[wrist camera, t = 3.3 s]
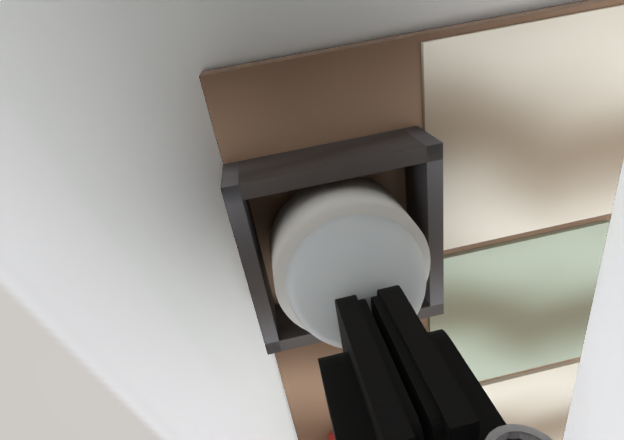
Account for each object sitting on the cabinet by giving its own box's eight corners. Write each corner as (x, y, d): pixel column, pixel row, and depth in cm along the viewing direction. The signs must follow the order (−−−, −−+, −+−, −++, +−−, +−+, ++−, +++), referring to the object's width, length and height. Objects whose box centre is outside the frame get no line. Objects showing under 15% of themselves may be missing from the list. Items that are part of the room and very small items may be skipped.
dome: (255, 192, 13) (262, 267, 9) (401, 162, 13) (465, 223, 10) (283, 308, 15) (298, 407, 12) (408, 280, 16) (461, 367, 12)
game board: (201, 71, 13) (191, 88, 10) (633, -9, 14) (726, -13, 11) (316, 496, 24) (325, 556, 22) (548, 437, 25) (584, 487, 22)
